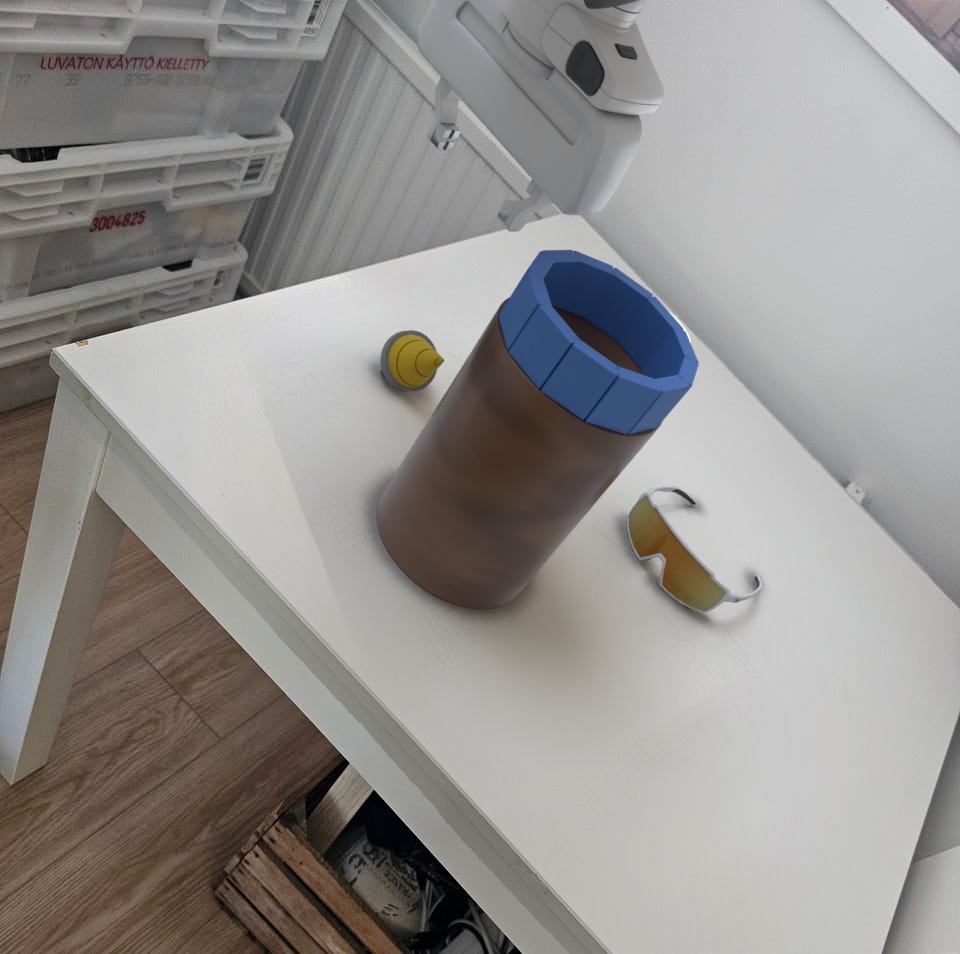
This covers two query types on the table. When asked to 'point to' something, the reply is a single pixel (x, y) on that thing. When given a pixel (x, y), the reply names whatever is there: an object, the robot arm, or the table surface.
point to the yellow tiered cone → (409, 361)
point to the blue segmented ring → (579, 368)
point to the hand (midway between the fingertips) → (472, 184)
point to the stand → (499, 476)
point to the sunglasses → (676, 556)
